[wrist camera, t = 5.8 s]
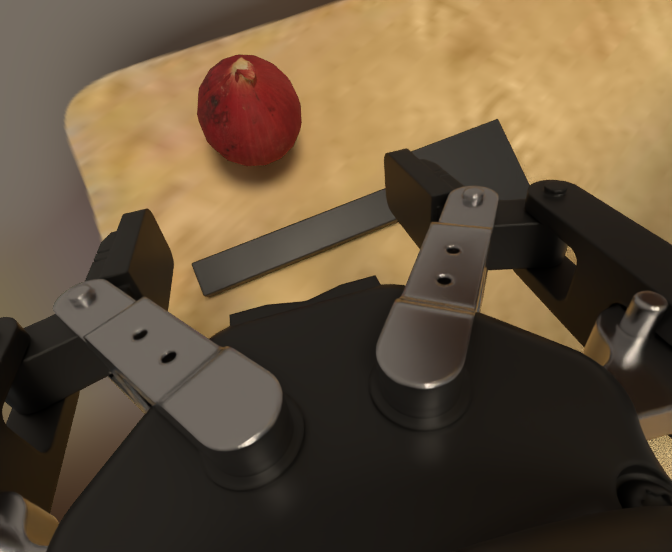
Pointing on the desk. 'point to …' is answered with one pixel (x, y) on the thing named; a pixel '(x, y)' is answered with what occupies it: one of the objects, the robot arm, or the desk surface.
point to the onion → (249, 110)
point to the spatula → (366, 211)
